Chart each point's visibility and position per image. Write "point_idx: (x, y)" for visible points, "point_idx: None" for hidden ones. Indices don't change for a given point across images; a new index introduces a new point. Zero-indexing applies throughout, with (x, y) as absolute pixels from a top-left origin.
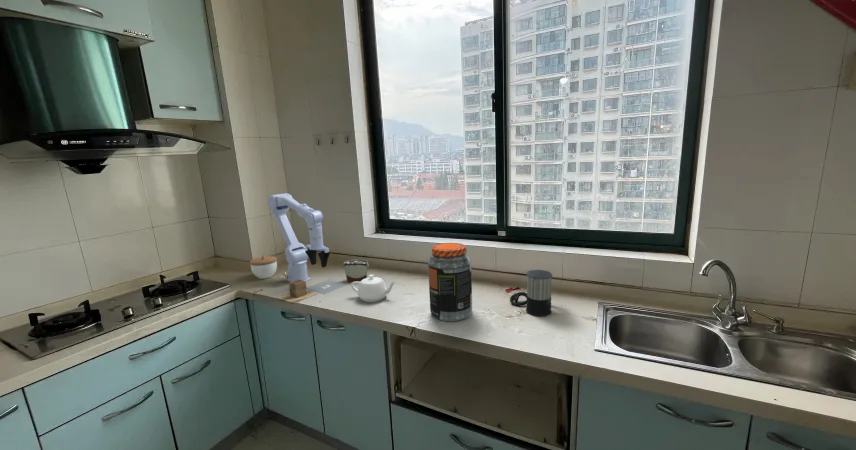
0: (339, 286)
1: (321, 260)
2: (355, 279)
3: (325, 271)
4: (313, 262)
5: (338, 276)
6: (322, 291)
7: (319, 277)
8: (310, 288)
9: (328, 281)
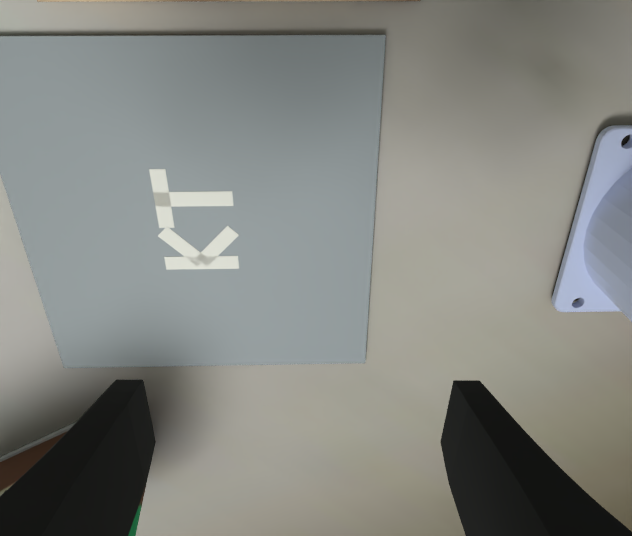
0: (77, 298)
1: (15, 504)
2: None
3: (573, 477)
4: (461, 438)
5: (352, 453)
6: (76, 96)
7: (511, 368)
8: (312, 90)
9: (314, 335)
